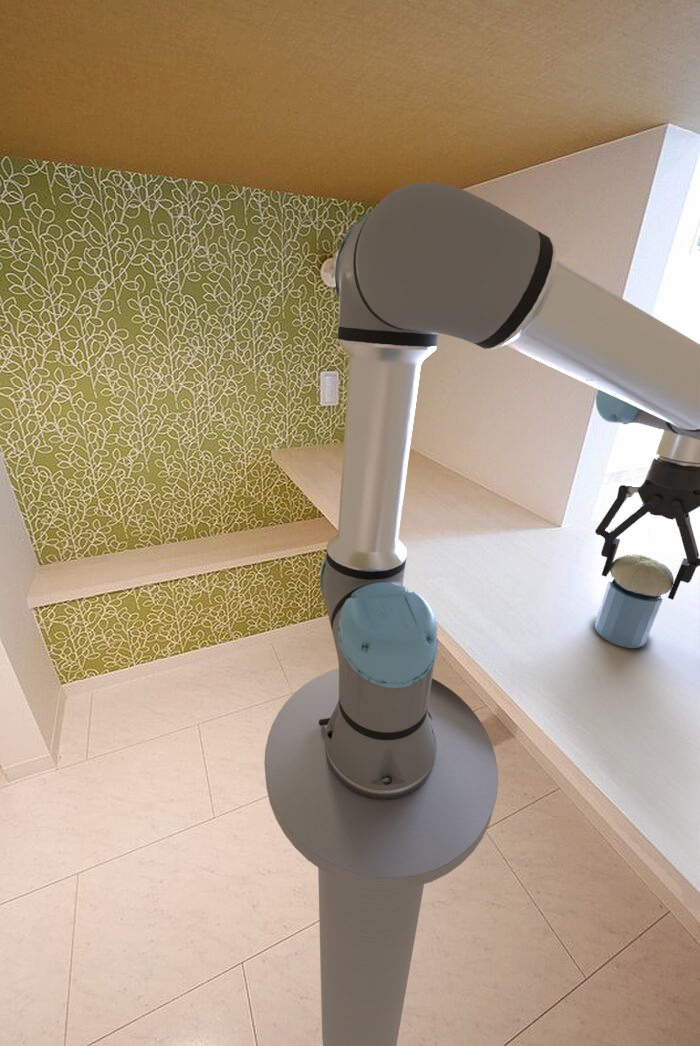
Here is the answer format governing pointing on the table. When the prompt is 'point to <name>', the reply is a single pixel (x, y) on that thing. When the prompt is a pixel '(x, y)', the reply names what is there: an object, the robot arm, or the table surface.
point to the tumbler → (626, 616)
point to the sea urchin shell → (642, 575)
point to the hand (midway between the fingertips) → (637, 583)
